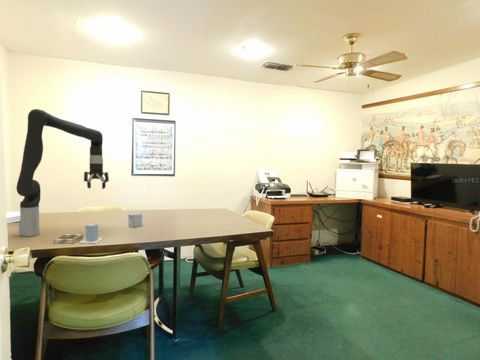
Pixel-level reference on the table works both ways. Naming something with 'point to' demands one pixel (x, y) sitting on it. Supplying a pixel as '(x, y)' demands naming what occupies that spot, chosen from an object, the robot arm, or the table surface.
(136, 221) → the medicine box
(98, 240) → the mat
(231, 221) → the table surface
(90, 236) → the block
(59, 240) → the well board
